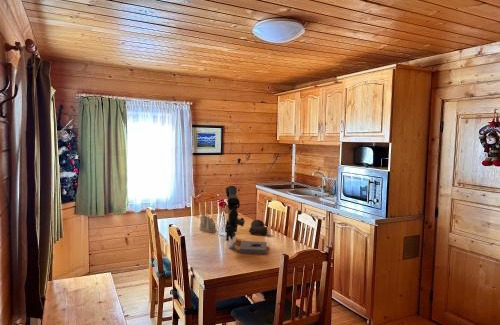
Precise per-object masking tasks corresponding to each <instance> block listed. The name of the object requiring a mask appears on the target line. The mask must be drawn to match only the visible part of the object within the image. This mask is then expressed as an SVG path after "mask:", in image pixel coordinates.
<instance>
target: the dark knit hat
mask: <svg viewBox="0 0 500 325" xmlns="http://www.w3.org/2000/svg"><path fill="white" fill-rule="evenodd" d="M248 232H249V234H252V235H261V236H267V235H268V232H269V231H268V227H267V226H265V224H264V222H263V221H262V220H261V219H254V220H252V221H251V223H250V227H249V230H248Z"/></svg>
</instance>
